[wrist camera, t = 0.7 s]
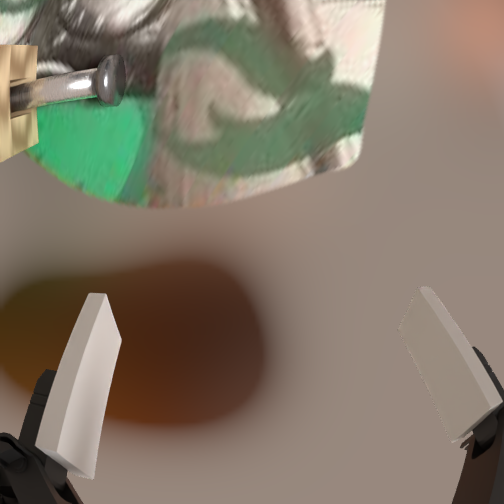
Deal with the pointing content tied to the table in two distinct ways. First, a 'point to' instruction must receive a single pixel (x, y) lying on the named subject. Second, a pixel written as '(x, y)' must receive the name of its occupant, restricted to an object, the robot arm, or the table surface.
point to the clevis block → (3, 122)
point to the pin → (74, 86)
